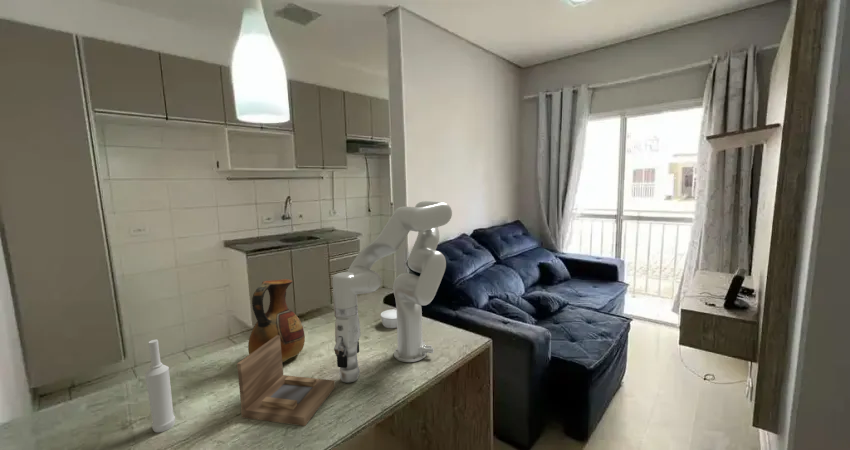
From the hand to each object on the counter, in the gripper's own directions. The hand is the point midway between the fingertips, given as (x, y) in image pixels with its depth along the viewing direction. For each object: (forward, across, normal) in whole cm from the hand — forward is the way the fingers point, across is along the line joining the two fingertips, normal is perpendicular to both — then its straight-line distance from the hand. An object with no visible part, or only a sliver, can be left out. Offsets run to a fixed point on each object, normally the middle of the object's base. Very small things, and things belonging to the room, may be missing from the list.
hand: (348, 359), depth 115 cm
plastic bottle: (+7, 0, 0) cm, 7 cm away
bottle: (+7, -30, +42) cm, 52 cm away
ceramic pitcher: (+8, +10, +34) cm, 36 cm away
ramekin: (+8, +46, -1) cm, 47 cm away
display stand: (+7, -14, +13) cm, 20 cm away
